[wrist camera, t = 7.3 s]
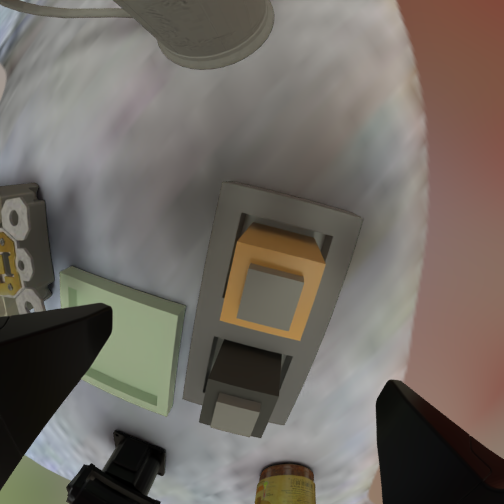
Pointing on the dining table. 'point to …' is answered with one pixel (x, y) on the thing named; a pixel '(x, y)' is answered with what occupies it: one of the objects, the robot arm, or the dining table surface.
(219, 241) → the power strip
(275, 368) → the twin plug
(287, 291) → the plug
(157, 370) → the tray
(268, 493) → the sauce bottle
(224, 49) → the grey pitcher
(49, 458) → the dining table surface
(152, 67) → the dining table surface
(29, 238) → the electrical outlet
